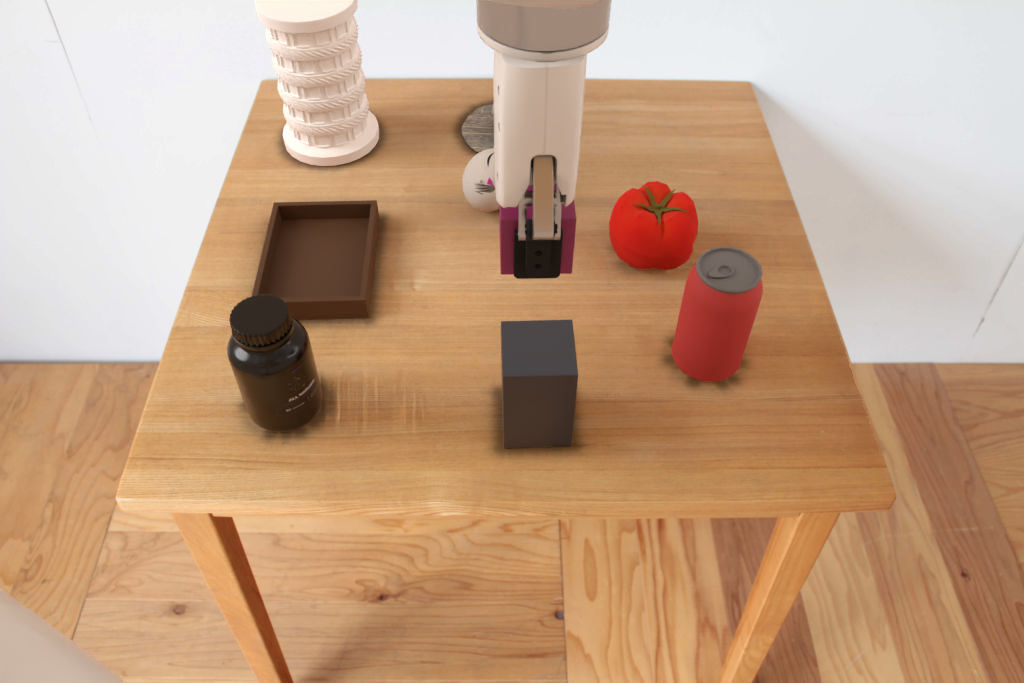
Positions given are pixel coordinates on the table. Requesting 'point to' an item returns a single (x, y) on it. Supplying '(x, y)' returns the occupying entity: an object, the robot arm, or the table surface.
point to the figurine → (481, 181)
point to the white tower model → (319, 79)
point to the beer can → (717, 314)
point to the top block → (510, 220)
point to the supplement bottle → (273, 364)
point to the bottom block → (538, 383)
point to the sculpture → (480, 128)
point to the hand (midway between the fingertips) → (534, 245)
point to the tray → (320, 258)
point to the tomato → (653, 227)
